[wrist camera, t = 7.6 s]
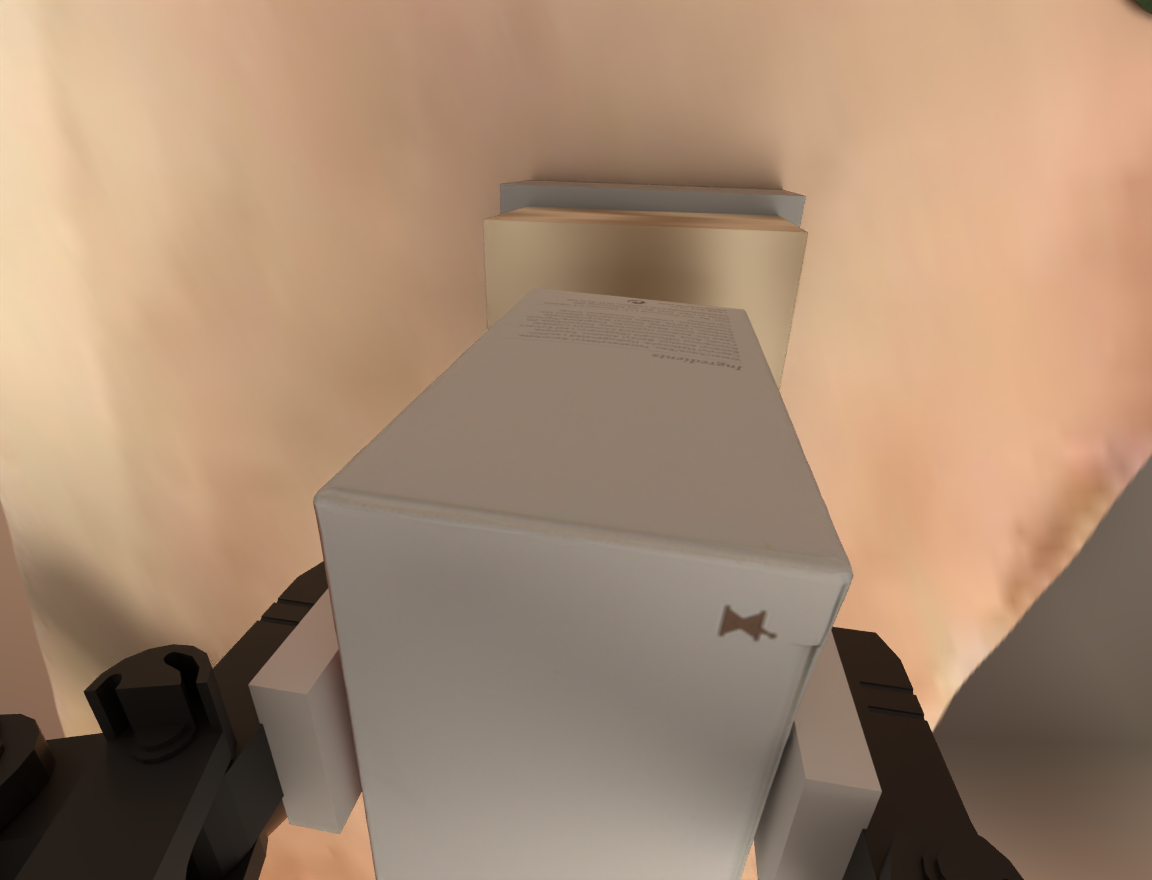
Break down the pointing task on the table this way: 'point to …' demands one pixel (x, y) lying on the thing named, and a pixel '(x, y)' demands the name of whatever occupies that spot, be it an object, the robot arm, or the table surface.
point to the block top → (651, 262)
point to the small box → (580, 598)
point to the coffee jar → (1145, 5)
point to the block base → (651, 198)
